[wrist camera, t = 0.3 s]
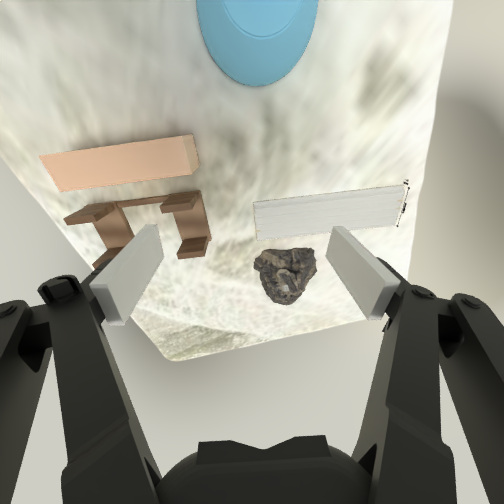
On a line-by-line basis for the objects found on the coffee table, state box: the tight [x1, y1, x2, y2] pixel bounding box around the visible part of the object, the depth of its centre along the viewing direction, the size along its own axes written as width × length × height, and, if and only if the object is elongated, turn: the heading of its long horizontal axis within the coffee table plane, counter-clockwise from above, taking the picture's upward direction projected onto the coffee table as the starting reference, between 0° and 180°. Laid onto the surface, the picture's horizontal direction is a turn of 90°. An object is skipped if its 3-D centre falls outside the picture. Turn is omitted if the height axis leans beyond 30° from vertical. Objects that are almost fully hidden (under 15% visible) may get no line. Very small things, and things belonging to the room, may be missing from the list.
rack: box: [64, 191, 212, 269], centre depth 39 cm, size 10×22×7 cm, turn 96°
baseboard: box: [253, 180, 410, 241], centre depth 42 cm, size 30×3×10 cm
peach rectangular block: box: [39, 134, 200, 192], centre depth 33 cm, size 5×20×8 cm, turn 97°
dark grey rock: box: [254, 248, 317, 305], centre depth 50 cm, size 19×4×15 cm
